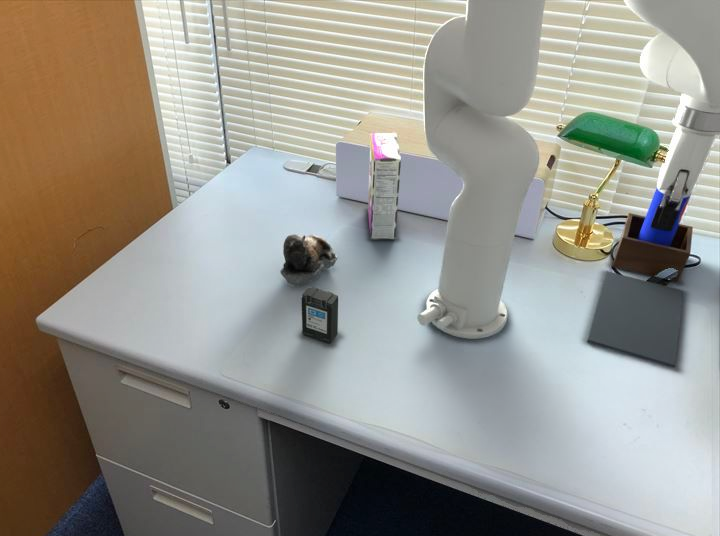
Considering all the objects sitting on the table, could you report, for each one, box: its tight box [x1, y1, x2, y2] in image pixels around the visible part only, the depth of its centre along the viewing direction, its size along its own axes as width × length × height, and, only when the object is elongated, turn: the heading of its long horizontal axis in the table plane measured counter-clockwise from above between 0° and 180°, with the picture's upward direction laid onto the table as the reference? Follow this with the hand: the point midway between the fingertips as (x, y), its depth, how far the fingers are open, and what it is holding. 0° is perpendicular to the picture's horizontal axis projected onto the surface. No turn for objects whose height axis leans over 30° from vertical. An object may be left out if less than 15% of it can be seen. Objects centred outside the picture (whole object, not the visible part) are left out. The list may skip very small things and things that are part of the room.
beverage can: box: [638, 186, 693, 247], centre depth 106 cm, size 5×5×15 cm
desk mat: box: [586, 270, 684, 368], centre depth 99 cm, size 20×12×1 cm, turn 153°
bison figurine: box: [279, 233, 339, 287], centre depth 105 cm, size 12×7×10 cm, turn 151°
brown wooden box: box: [612, 212, 694, 284], centre depth 109 cm, size 9×10×6 cm
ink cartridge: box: [300, 286, 339, 345], centre depth 93 cm, size 5×2×8 cm, turn 63°
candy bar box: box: [367, 132, 402, 241], centre depth 116 cm, size 11×5×16 cm, turn 179°
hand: (662, 219), depth 106 cm, fingers closed on beverage can, 5 cm apart
